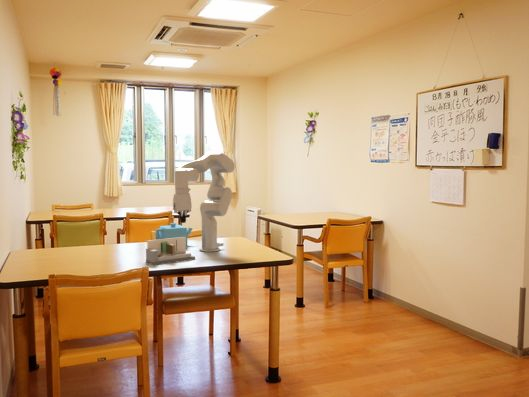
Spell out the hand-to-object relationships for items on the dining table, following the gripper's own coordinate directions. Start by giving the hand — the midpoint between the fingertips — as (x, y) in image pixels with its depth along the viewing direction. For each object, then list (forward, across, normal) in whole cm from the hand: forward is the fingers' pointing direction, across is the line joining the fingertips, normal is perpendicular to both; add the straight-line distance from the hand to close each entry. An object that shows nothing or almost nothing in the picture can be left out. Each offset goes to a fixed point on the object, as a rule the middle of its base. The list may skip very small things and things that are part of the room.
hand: (183, 222), depth 290 cm
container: (+23, -14, -41) cm, 49 cm away
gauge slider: (+19, +12, +1) cm, 23 cm away
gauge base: (+21, +9, +1) cm, 23 cm away
